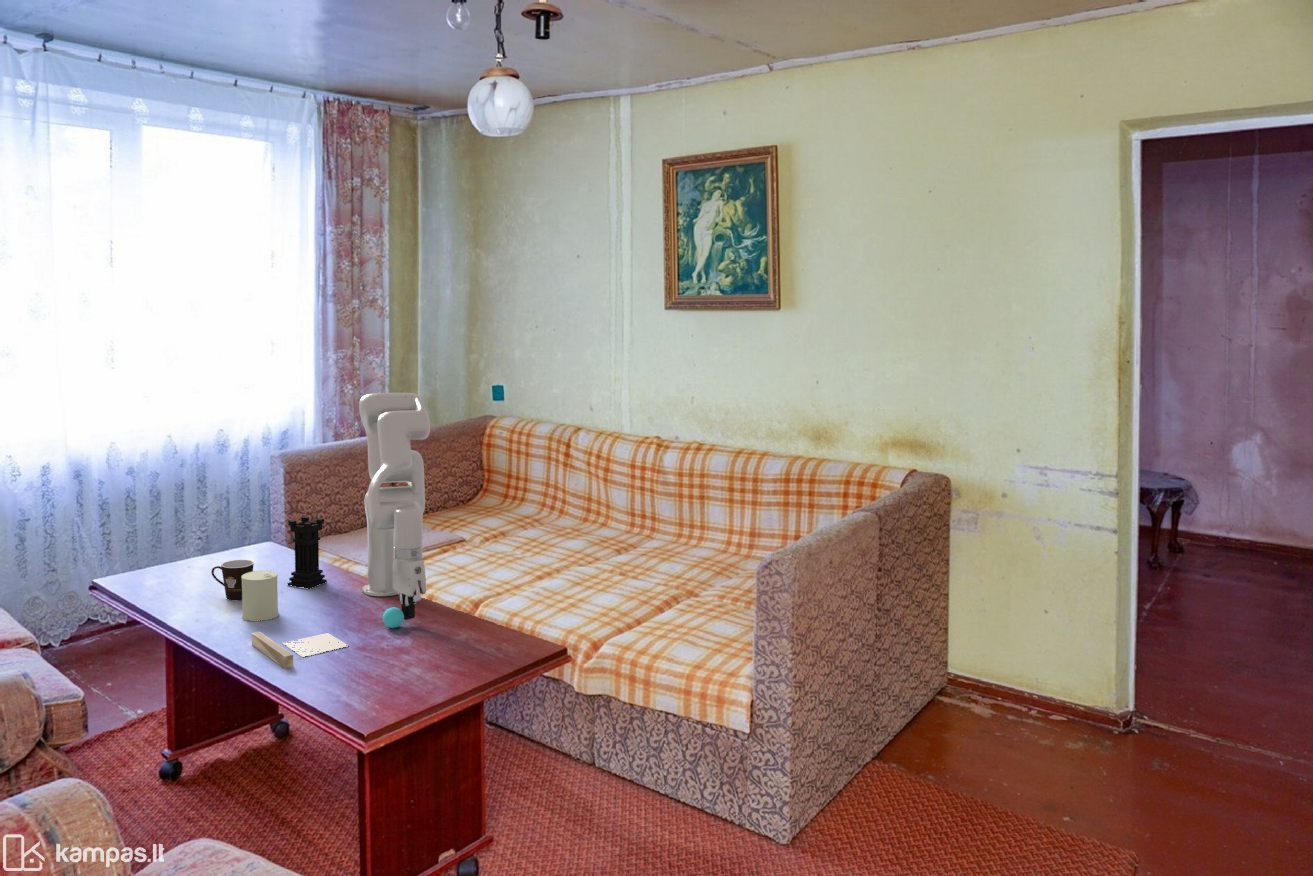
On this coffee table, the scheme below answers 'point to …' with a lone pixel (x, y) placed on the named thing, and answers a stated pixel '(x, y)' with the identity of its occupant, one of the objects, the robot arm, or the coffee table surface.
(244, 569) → the coffee mug
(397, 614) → the ball
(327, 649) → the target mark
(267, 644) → the rail
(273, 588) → the can
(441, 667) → the coffee table surface
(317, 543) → the chess piece
